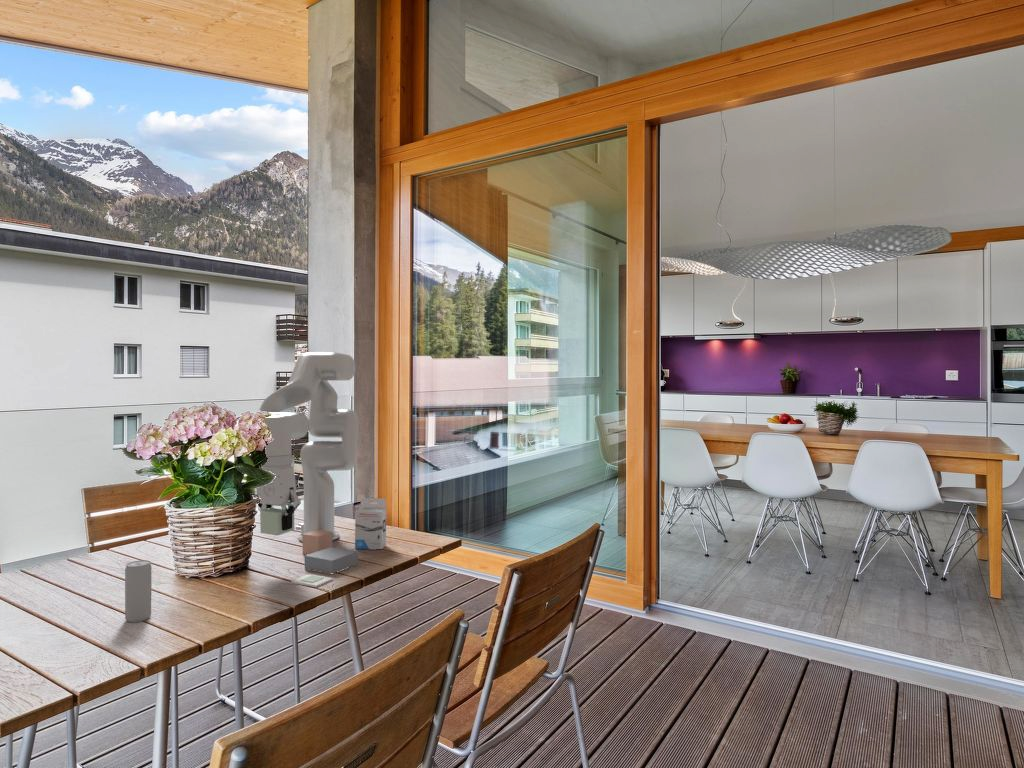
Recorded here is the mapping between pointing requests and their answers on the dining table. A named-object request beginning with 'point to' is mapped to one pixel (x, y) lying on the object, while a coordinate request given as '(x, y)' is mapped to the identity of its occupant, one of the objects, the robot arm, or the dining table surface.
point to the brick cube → (316, 541)
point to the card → (311, 580)
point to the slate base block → (331, 559)
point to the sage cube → (273, 521)
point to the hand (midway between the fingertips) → (277, 527)
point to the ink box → (370, 524)
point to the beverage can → (138, 591)
